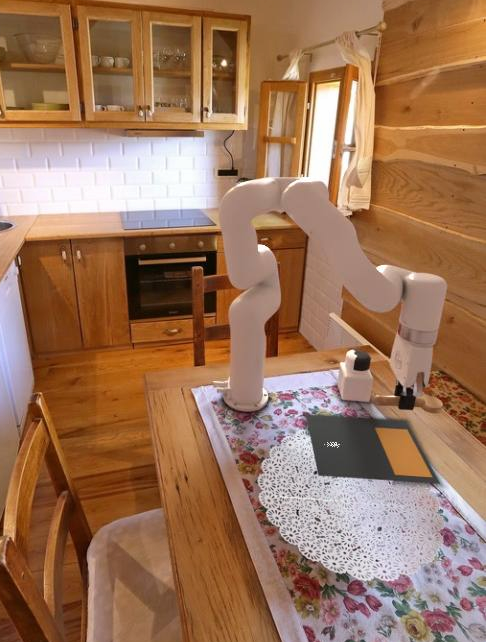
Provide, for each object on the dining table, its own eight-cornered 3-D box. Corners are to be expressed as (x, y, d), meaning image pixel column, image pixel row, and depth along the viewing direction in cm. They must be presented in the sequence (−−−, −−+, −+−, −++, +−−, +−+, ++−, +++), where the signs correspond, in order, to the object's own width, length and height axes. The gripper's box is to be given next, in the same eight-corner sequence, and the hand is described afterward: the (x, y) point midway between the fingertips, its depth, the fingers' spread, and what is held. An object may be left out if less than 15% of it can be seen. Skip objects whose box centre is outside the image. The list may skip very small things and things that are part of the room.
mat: (318, 476, 89) (318, 474, 89) (305, 415, 108) (305, 414, 108) (440, 484, 87) (440, 483, 87) (405, 421, 106) (405, 420, 106)
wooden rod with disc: (376, 410, 90) (377, 402, 89) (370, 397, 94) (371, 389, 93) (445, 414, 89) (447, 405, 88) (436, 400, 93) (438, 392, 92)
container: (363, 386, 120) (369, 347, 116) (369, 402, 113) (377, 362, 109) (336, 384, 121) (342, 345, 117) (341, 400, 114) (347, 360, 110)
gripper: (386, 314, 93) (375, 383, 99) (413, 350, 78) (398, 428, 84) (420, 316, 93) (406, 384, 99) (453, 351, 78) (435, 430, 84)
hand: (403, 404), depth 91 cm, fingers closed on wooden rod with disc, 2 cm apart
